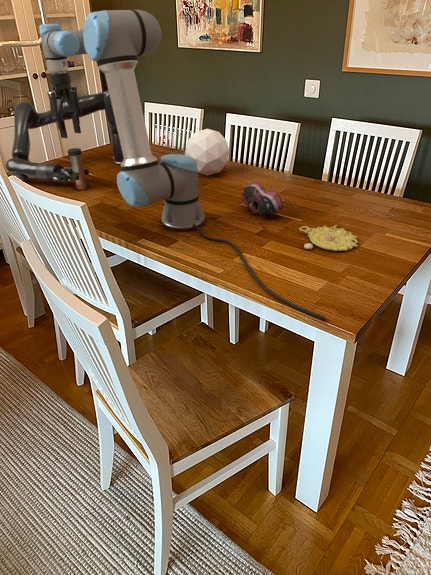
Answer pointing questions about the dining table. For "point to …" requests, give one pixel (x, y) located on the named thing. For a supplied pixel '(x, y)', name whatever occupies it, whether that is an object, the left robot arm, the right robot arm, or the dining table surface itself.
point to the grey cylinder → (78, 172)
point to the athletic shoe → (261, 200)
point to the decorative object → (330, 238)
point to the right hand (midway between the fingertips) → (71, 135)
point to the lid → (74, 152)
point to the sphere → (208, 151)
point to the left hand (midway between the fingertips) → (83, 174)
